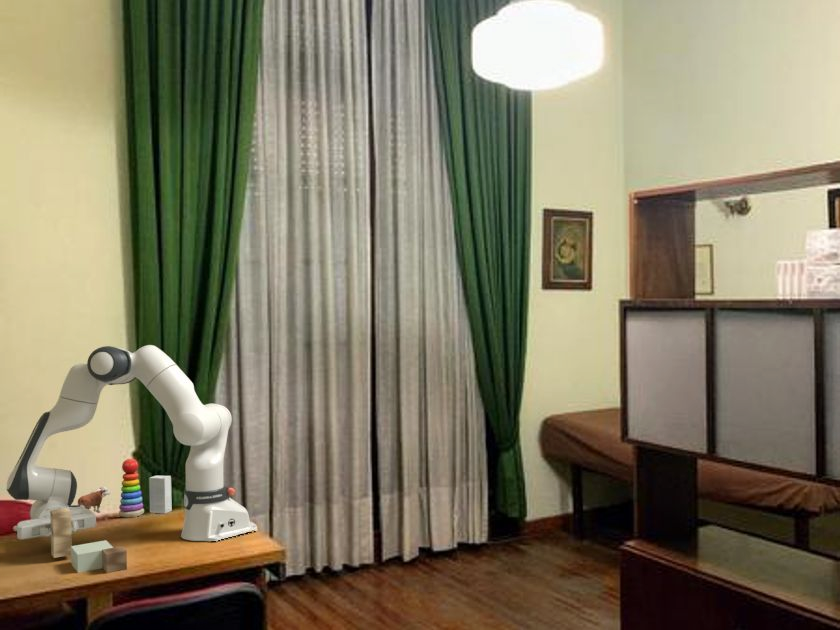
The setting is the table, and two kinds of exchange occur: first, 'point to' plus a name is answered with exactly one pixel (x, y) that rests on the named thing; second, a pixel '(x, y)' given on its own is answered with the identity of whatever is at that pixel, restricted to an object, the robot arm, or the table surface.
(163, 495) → the skincare box
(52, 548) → the oak post
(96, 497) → the bull figurine
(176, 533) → the table surface
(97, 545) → the plinth
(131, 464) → the stacking toy
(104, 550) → the walnut block
